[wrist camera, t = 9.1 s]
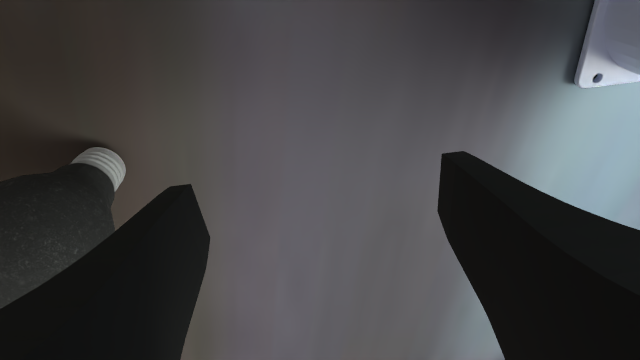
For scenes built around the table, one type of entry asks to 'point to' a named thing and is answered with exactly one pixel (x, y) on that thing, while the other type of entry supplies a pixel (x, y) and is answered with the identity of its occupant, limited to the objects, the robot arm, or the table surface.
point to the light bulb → (55, 219)
